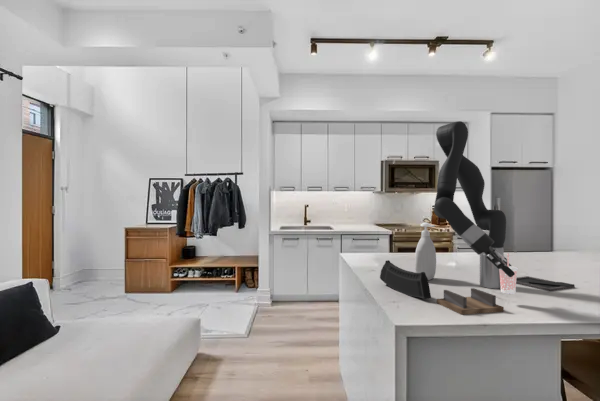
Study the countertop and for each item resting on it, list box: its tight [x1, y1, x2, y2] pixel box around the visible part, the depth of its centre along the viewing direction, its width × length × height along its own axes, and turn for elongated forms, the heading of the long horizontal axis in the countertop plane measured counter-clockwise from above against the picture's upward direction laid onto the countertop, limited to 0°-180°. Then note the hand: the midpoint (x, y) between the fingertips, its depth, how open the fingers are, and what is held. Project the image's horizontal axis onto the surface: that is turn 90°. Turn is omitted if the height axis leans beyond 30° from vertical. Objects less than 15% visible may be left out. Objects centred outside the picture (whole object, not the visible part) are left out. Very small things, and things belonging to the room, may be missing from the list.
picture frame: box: [516, 275, 576, 292], centre depth 163 cm, size 16×2×21 cm
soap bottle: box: [414, 221, 437, 281], centre depth 173 cm, size 14×8×27 cm, turn 127°
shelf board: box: [436, 287, 504, 316], centre depth 129 cm, size 16×14×5 cm
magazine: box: [379, 260, 432, 300], centre depth 149 cm, size 17×3×30 cm
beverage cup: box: [499, 252, 519, 295], centre depth 132 cm, size 6×6×14 cm
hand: (513, 273), depth 131 cm, fingers closed on beverage cup, 6 cm apart
